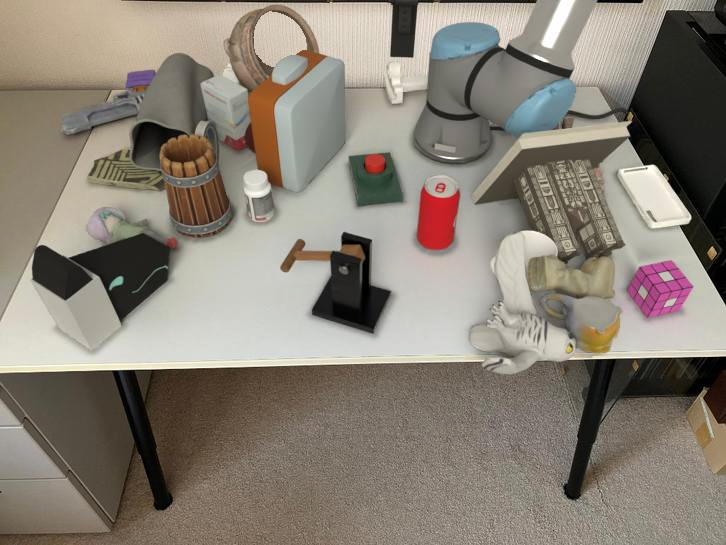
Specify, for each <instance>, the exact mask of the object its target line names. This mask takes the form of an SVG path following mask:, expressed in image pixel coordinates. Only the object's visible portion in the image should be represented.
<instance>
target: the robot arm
mask: <svg viewBox="0 0 726 545" xmlns="http://www.w3.org/2000/svg"><path fill="white" fill-rule="evenodd" d="M420 2H421V0H387V4H390V6H392V10H391V11H392V12H391V28H390V30H391V31H390V51H389V52H390V53H389V57H390V58H405V59H407V58H408V59H409V58H411V59H413V58H414V57H415V56H414V55H415V45H416V44H415V43H416V32H417V31H416V30H417V20H418V19H417V18H418V6H419V4H420ZM597 2H598V0H536V2H535V4H534V6H533V9H532V11H531V13H530V15H529V17H528V19H527V21H526V24H525V27H524V28H523V31H522V33H521V34H520V35H518V36H516V37H514V38H512V39H509V40H508V42H507V44H506V47H505V48H504V47H502V46H500V45H499V44H500V42H501V35H500V33H499V30H498V29H497V28H496V27H494V26H493V25H491V24H488V23H484V22H478V21H477V22H475V21H473V22H472V21H465V22H457V23H453V24H452V23H451V24H449V25H446V26H444V27H442V28H441V29H439V30H438V31H437V32H436V33H435V34H434V35H433V37H432V42H431V47H430V51H429V59H428V70H427V71H428V72H427V76H428V84H427V89H426V99H425V105H424V107H423V109H422V111H421V113H420V115H419V117H418V119H417V121H416V124H415V126H414V129H413V144H414V146H415V148H416V149H417V151H418V152H420V153H421V154H422V155H423V156H425V157H426V158H428V159H430V160H432V161H434V162H439V163H443V164H450V165H462V164H467V163H472V162H475V161H477V160H479V159H481V158H483V157H484V156H485V155H486V154H487V153H488V151H489V149H490V146H491V140H492V132H491V131H493V132H495V131H496V132H497V131H498V132H499V131H500V132H506V133H507V134H509V135H513V136H516V137H518V139H519V138H520V136H521V135H522V134H525V133H533V132H542V131H550V130H552V129H553V128H555V127H556V126H557V125H558V123H559V124H560V123H561V122H562V121H563V118H564V117H566V115H571V116H574V117H575V116H576V117H580V118H583V119H589V120H602V119H605V118H608V117H610V116H613V115H614V114H617V113H623V114H624V115H629V114H630V112H629V110H628V109H627V108H625V107H617V108H614V109H612V110H610V111H607V112H605V113H601V114H588V113H584V112H580V111H577V110H576V111H575V110H572V109H570V108H571V107H572V105H573V103H574V100H575V99H576V98H575V97H576V96H575V95H576V93H577V87H576V84H575V83H574V81H573V80H572V79H571V76H572V74H573V72H574V70H575V69H576V66H575V63H574V59H573V57H572V54H573V52H574V49H575V47H576V45H577V43H578V42H579V39H580V37H581V35H582V33H583V31H584V29H585V27H586V25H587V22H588V20H589V19H590V16H591V14H592V13H593V11H594V8H595V6H596V4H597ZM490 123H493V124H494V125H495V126H490Z"/></svg>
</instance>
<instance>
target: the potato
mask: <svg viewBox="0 0 726 545" xmlns="http://www.w3.org/2000/svg"><path fill="white" fill-rule="evenodd" d="M245 143H246V145H247V146H246V147H247V149H249V150H250V152H252V153H254V154H255V155H256V152H255V146H254V139H253V132H252V125H251V122H250V124H249V125H248V127H247V129H246V132H245Z"/></svg>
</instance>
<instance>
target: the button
mask: <svg viewBox="0 0 726 545" xmlns="http://www.w3.org/2000/svg"><path fill="white" fill-rule="evenodd" d="M370 154H371V155H368V156H367V157H366V159H365V169H366V170H367V171H368V172H371V173H380V172H382V171H383V170H384V169H385V158H384V157H383V156H382V155H379V154H375V153H370Z"/></svg>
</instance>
